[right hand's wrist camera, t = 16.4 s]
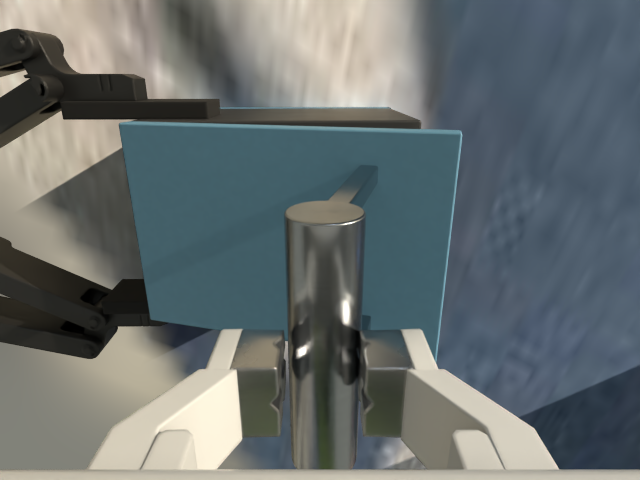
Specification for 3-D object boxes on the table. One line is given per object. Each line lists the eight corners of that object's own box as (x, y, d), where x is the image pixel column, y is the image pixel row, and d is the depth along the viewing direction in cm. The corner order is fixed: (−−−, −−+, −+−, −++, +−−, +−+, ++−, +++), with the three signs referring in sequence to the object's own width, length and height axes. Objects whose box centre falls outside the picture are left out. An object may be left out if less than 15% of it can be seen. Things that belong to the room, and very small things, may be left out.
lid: (461, 130, 15) (480, 180, 8) (436, 352, 18) (432, 540, 11) (131, 121, 18) (-81, 150, 11) (160, 311, 22) (13, 433, 14)
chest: (388, 107, 27) (422, 120, 18) (381, 246, 30) (406, 309, 22) (186, 107, 27) (129, 120, 18) (200, 247, 30) (158, 311, 22)
